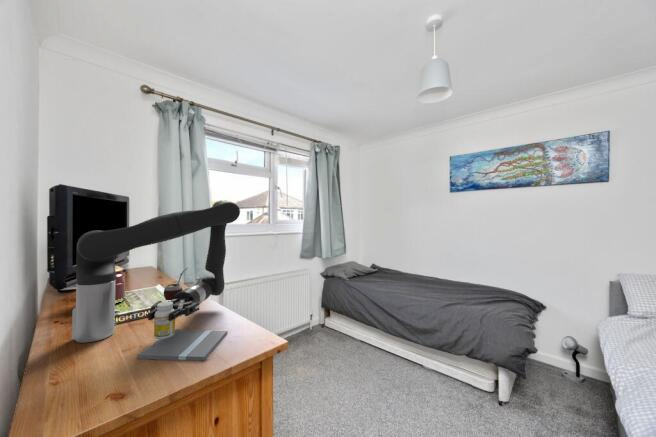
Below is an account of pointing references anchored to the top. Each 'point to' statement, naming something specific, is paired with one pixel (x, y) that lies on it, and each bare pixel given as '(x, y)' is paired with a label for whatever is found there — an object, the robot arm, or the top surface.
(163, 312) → the supplement bottle
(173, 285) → the mate gourd
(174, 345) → the floor panel
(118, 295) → the canister
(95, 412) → the top surface
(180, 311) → the robot arm
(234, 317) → the top surface
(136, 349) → the top surface
